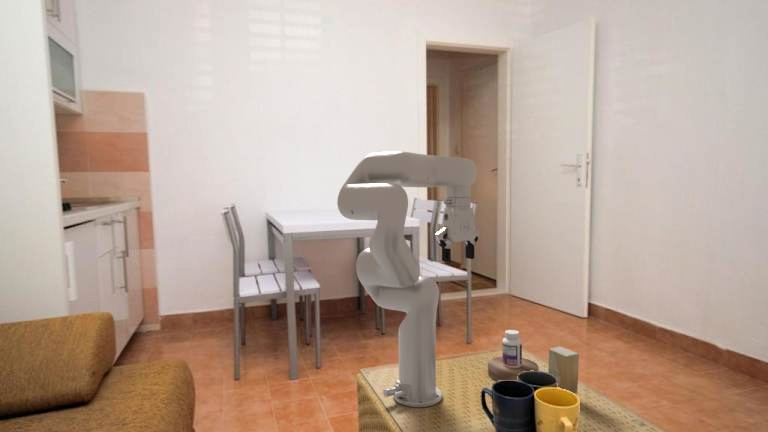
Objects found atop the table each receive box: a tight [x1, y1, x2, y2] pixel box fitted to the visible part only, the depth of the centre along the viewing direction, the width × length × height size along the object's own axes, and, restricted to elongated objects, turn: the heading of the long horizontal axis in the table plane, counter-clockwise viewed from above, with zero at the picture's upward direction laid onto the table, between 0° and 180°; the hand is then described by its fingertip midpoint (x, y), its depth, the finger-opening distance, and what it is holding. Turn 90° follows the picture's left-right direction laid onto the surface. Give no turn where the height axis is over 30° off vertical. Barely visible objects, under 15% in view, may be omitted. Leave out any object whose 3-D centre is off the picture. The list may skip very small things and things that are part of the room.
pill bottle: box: [501, 329, 523, 368], centre depth 134 cm, size 5×5×10 cm
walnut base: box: [487, 355, 540, 382], centre depth 134 cm, size 14×14×3 cm
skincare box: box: [547, 346, 580, 395], centre depth 119 cm, size 6×4×12 cm
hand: (458, 260), depth 141 cm, fingers open, 9 cm apart
